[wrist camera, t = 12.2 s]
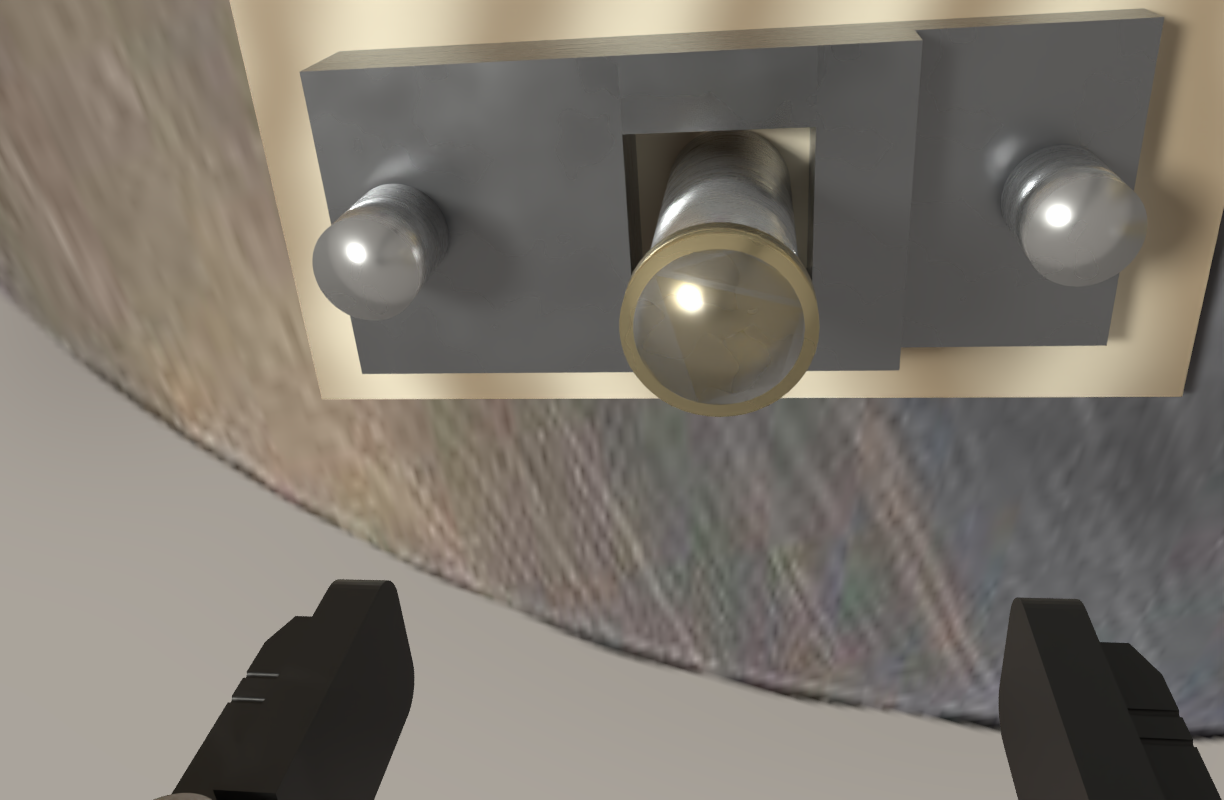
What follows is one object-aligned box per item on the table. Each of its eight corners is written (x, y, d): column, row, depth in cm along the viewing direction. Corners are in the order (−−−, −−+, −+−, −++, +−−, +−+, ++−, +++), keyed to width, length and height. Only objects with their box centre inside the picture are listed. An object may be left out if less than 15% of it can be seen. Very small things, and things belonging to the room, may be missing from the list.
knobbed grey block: (1144, 8, 27) (1239, 49, 21) (1091, 324, 31) (1160, 422, 26) (339, 51, 30) (250, 96, 25) (392, 332, 34) (326, 422, 29)
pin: (802, 113, 29) (821, 231, 20) (800, 253, 31) (817, 416, 22) (654, 120, 30) (612, 237, 21) (661, 257, 32) (625, 417, 23)
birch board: (1274, -109, 26) (1293, -107, 25) (1170, 381, 33) (1181, 396, 32) (236, -39, 30) (221, -36, 29) (332, 385, 36) (321, 399, 36)
